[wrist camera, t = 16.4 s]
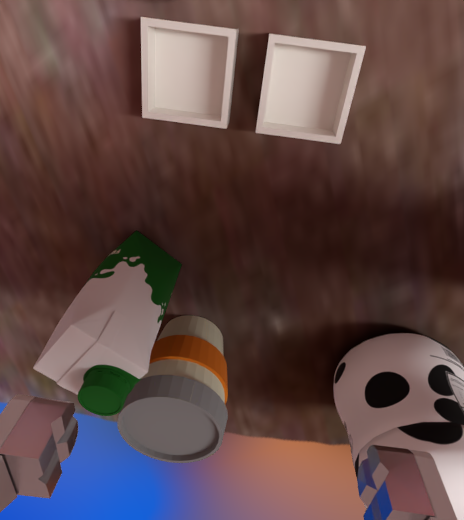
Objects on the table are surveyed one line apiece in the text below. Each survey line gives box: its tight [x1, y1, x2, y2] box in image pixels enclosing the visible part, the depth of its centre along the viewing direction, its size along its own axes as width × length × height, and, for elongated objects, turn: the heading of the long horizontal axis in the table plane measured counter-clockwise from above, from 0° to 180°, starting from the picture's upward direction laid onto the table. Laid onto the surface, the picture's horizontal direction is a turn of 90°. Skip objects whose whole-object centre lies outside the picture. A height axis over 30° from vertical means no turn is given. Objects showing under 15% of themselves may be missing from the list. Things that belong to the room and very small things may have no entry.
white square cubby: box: [141, 17, 239, 129], centre depth 36 cm, size 8×8×3 cm
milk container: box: [333, 333, 464, 520], centre depth 47 cm, size 17×17×18 cm
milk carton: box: [33, 230, 182, 416], centre depth 41 cm, size 9×9×20 cm
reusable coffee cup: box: [118, 315, 228, 463], centre depth 49 cm, size 12×13×15 cm
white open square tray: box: [256, 33, 366, 144], centre depth 35 cm, size 8×8×3 cm
